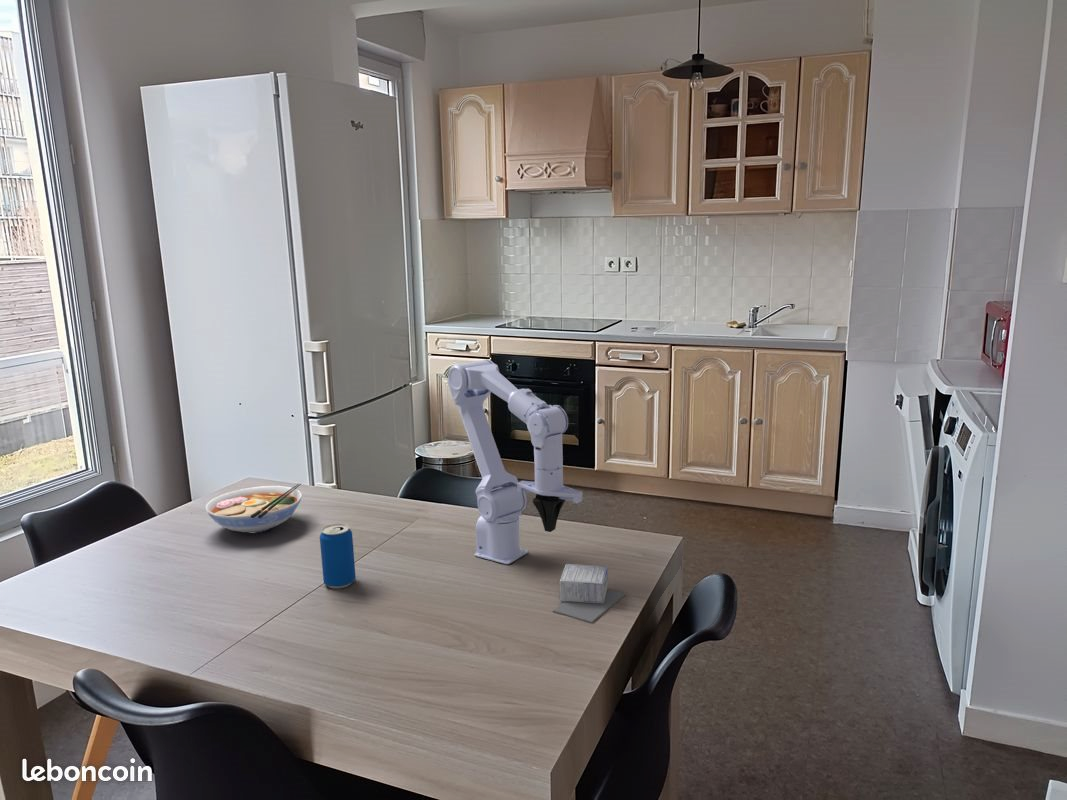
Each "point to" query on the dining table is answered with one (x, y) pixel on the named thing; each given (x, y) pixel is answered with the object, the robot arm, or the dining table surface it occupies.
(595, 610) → the mat
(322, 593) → the dining table surface
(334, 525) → the beverage can
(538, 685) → the dining table surface
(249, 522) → the ramen bowl
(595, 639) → the dining table surface
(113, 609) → the dining table surface
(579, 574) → the medicine box
